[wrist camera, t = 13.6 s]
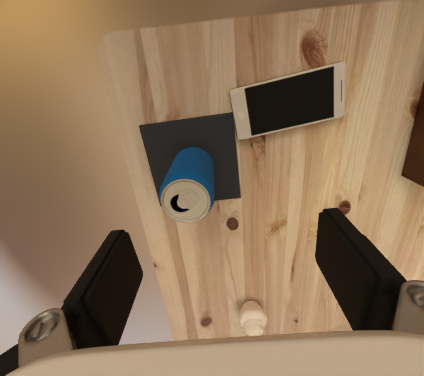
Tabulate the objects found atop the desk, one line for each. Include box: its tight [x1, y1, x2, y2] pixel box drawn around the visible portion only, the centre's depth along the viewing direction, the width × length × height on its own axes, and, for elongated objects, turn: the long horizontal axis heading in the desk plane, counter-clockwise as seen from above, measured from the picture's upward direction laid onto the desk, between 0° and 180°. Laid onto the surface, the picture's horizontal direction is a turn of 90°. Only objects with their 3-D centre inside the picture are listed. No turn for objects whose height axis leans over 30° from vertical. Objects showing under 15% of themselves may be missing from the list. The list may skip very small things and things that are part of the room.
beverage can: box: [159, 147, 214, 223], centre depth 31 cm, size 6×6×12 cm
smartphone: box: [229, 62, 346, 140], centre depth 32 cm, size 7×15×1 cm, turn 103°
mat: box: [139, 113, 241, 207], centre depth 36 cm, size 14×14×1 cm
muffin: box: [238, 300, 268, 336], centre depth 48 cm, size 6×6×7 cm
